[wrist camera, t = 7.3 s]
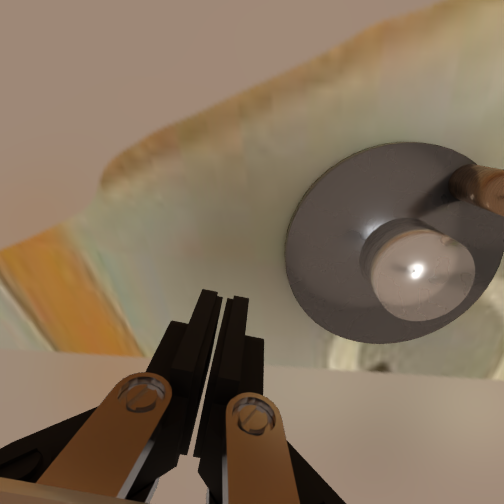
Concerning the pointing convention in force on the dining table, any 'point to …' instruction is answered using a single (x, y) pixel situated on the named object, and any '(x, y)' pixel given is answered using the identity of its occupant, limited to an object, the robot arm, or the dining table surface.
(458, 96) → the dining table surface
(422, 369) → the dining table surface
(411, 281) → the cover
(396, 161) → the turntable
